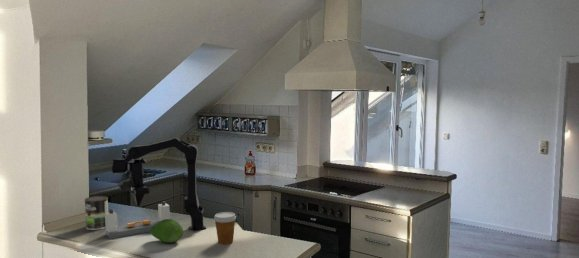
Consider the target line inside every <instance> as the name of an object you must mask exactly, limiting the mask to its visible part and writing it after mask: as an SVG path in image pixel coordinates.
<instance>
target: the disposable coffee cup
mask: <svg viewBox="0 0 579 258" xmlns="http://www.w3.org/2000/svg"><path fill="white" fill-rule="evenodd" d="M236 219H237V216H236V214H235V213H234V212H231V211H224V212H223V211H222V212H218V213H216V214H215V215H214V217H213V220H214V224H215V229H216V230H215V231H216V234H217V235H216V237H217V242H218V244H220V245H230V244H232V243H234V235H235V234H234V233H235V224H236Z"/></svg>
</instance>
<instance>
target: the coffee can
mask: <svg viewBox="0 0 579 258" xmlns="http://www.w3.org/2000/svg"><path fill="white" fill-rule="evenodd" d="M108 199H109V197H108V196H105V195H95V196H94V195H93V196H89V197H86V198H84V205H85V206H84V207H85V210H84V211H85V226H86V227H85V229H86V230H88V231H100V230H104V229H106V212H109V202H108Z"/></svg>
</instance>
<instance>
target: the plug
mask: <svg viewBox="0 0 579 258" xmlns="http://www.w3.org/2000/svg"><path fill="white" fill-rule="evenodd" d="M170 206H171V205H169V204H168V203H166V201H165V200H164V201H161V204H160V203H159V204H157V208H158V209H157V210H158V211H157V212H158V220H159V221H162V220H165V219H171V213H170V212H171V210H170V209H171V207H170Z"/></svg>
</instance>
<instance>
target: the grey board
mask: <svg viewBox="0 0 579 258" xmlns="http://www.w3.org/2000/svg"><path fill="white" fill-rule="evenodd" d="M150 222H151V223H150V224H142V223H137V224H135V226H132V227H127V224H126V225H121V226H120V225H119V226H118V231H115V232H108V231H107V230H106V229H105V235H106V237H107V238H108V239H109V240H112V239H118V238H122V237H123V238H124V237H128V236H133V235H134V236H135V235H139V234H145V233H150V231H151V228H152V226H153V225H154V224H156V223H157V222H160V221H159V219H155V220H150Z"/></svg>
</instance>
